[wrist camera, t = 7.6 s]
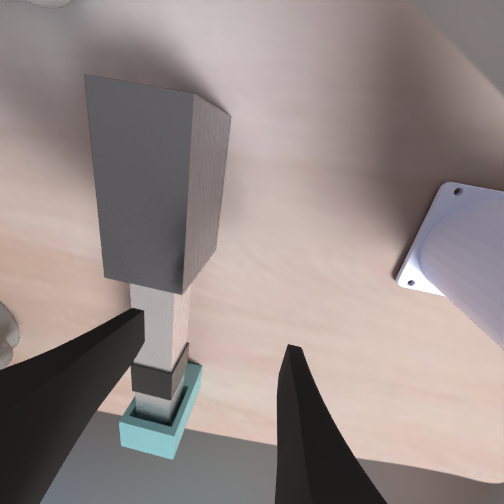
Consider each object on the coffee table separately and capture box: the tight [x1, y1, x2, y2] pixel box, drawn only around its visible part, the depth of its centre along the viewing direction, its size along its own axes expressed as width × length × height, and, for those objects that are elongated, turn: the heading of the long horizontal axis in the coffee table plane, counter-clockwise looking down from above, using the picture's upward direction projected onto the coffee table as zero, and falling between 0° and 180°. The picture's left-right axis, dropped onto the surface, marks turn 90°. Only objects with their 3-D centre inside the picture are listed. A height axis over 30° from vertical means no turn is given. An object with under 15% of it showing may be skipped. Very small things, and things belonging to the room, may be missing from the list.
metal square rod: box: [130, 283, 191, 427], centre depth 18 cm, size 3×20×3 cm, turn 170°
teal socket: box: [119, 362, 202, 460], centre depth 23 cm, size 5×4×7 cm
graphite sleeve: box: [84, 74, 231, 295], centre depth 15 cm, size 5×10×7 cm, turn 170°
